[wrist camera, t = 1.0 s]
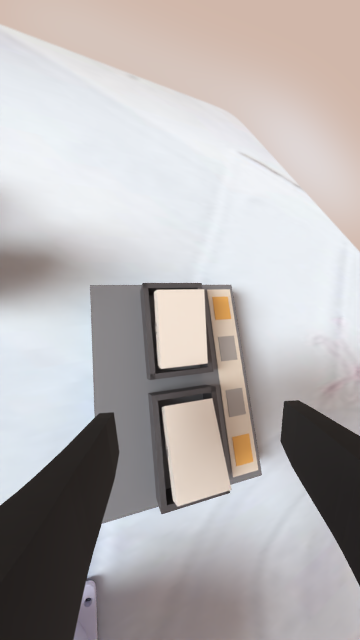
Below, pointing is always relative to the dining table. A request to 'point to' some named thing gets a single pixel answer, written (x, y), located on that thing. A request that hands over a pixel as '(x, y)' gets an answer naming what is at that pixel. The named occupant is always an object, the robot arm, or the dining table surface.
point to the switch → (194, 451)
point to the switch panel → (165, 391)
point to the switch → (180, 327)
